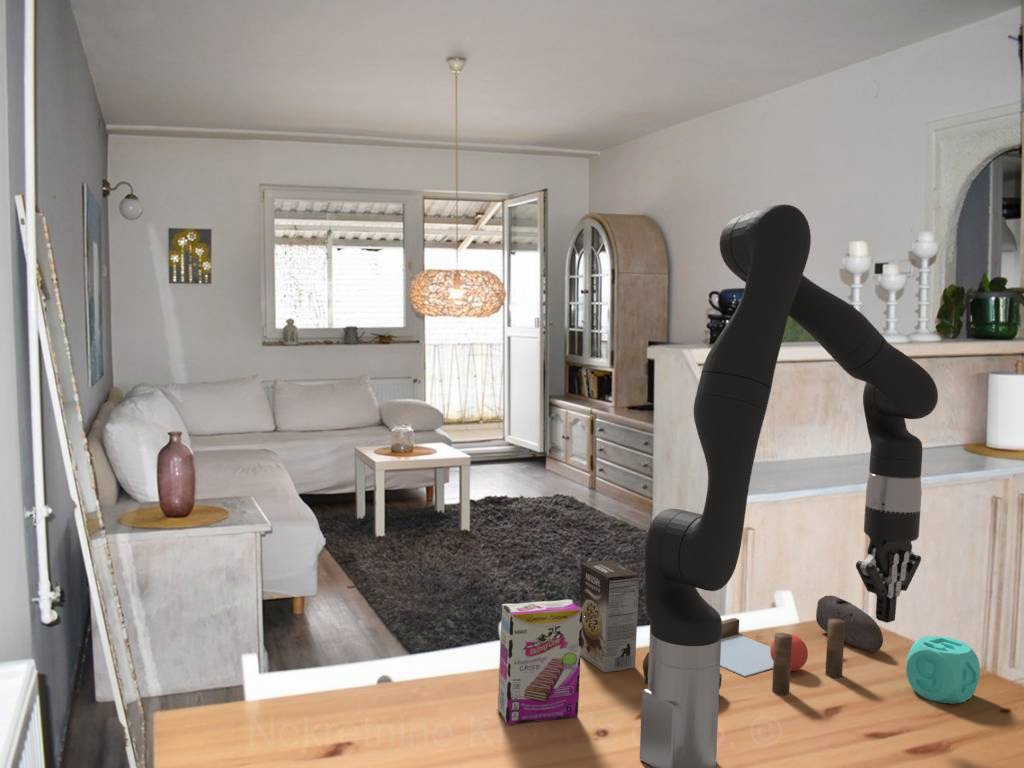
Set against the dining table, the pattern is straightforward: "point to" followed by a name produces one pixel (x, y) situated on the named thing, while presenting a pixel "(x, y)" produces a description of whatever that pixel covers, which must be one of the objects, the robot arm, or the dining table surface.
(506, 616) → the candy bar box
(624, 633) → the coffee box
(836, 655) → the post right
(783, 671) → the post left
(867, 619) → the perforated stone tool
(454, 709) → the dining table surface
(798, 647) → the ball
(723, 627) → the stopper rail
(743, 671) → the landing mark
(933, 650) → the decorative dice
